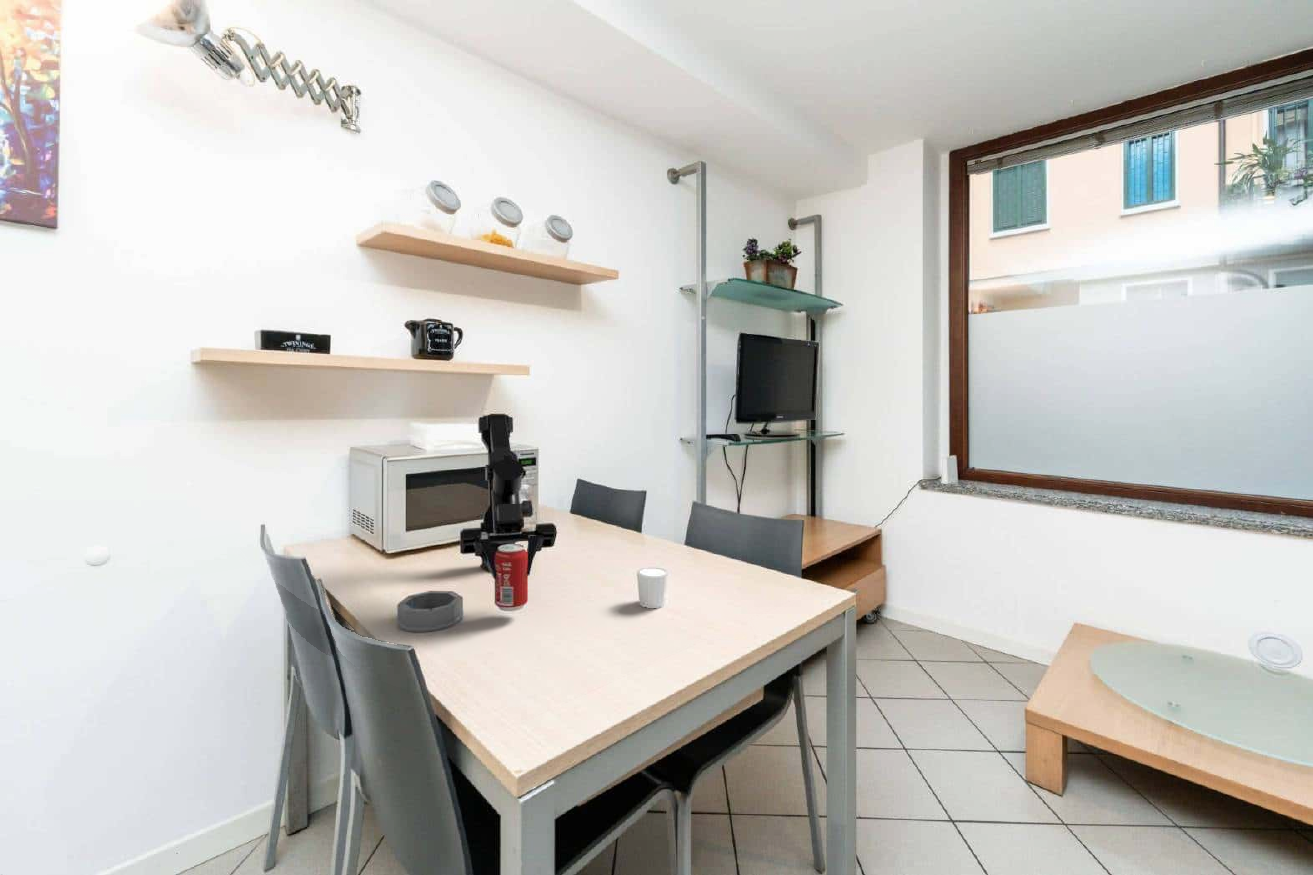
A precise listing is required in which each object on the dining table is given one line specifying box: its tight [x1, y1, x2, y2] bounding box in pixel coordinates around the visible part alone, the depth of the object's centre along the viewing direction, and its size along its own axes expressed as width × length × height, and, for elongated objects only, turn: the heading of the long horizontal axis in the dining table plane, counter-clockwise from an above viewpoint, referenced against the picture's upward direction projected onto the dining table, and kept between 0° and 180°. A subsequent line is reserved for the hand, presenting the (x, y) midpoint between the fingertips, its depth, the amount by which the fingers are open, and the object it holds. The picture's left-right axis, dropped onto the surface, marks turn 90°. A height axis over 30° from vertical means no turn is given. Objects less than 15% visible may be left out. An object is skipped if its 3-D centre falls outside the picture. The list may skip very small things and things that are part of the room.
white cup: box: [636, 567, 670, 609], centre depth 118 cm, size 7×7×7 cm
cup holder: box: [396, 590, 464, 633], centre depth 108 cm, size 12×12×4 cm
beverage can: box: [494, 543, 529, 612], centre depth 109 cm, size 6×6×12 cm
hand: (511, 576), depth 108 cm, fingers closed on beverage can, 6 cm apart
